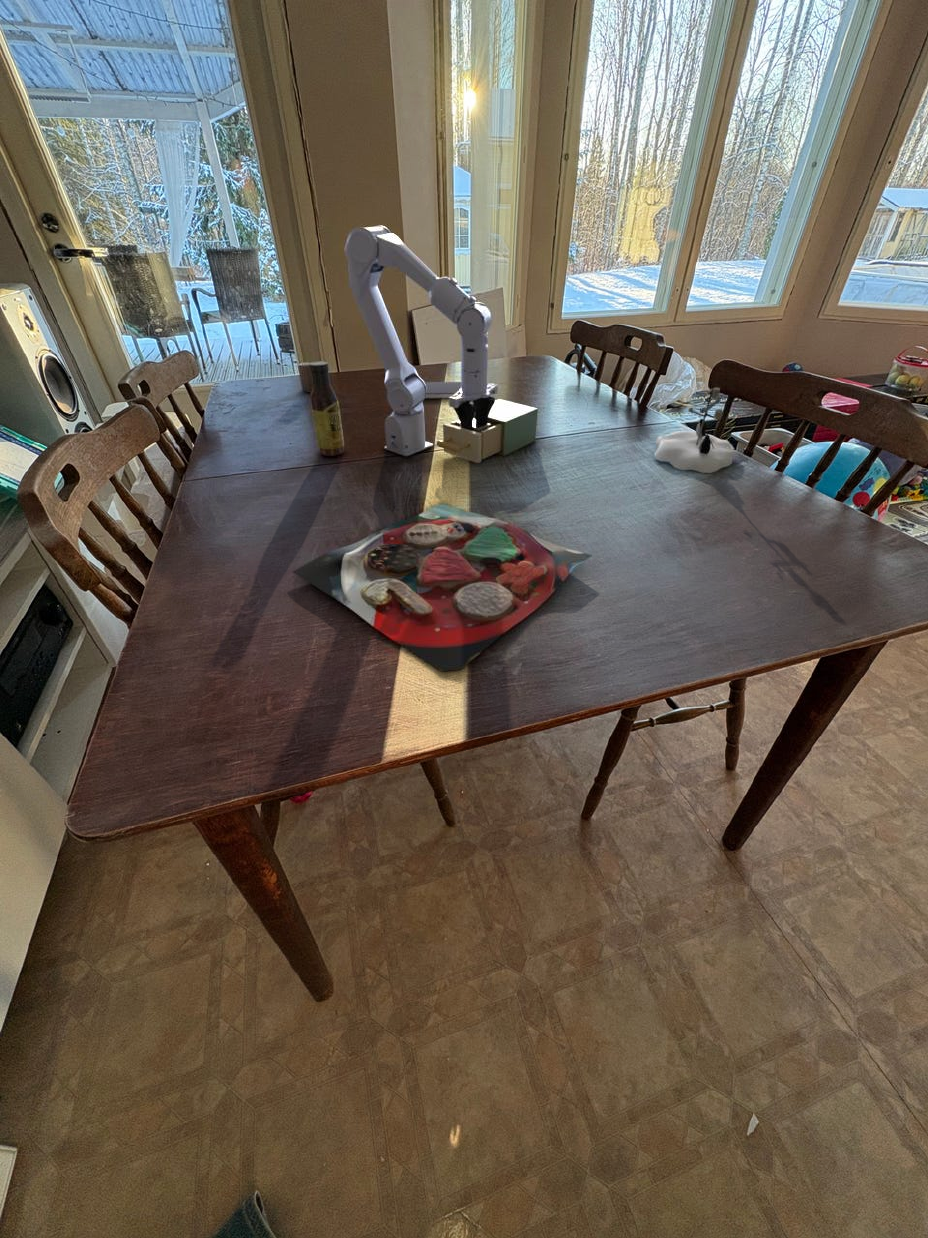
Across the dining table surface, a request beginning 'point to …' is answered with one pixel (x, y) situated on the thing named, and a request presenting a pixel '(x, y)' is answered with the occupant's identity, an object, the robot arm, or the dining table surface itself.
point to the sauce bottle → (325, 412)
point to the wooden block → (305, 377)
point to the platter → (444, 581)
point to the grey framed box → (478, 425)
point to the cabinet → (514, 424)
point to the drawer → (472, 441)
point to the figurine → (697, 444)
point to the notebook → (442, 389)
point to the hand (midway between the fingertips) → (473, 432)
